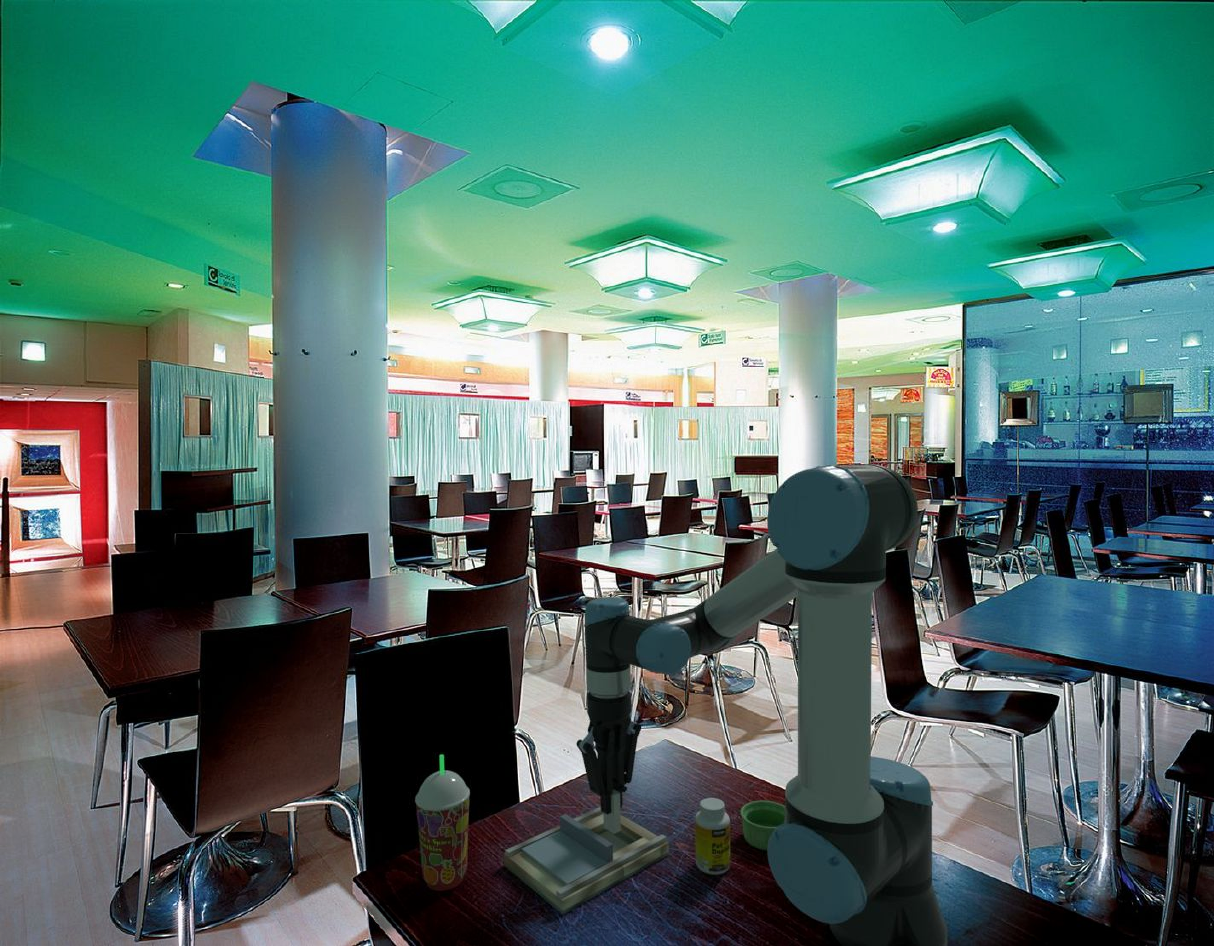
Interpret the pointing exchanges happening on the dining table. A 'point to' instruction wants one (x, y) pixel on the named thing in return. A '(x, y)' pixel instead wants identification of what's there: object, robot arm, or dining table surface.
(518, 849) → the sliding lid box
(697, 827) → the supplement bottle
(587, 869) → the cover
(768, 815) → the ramekin
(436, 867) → the smoothie
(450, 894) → the dining table surface
